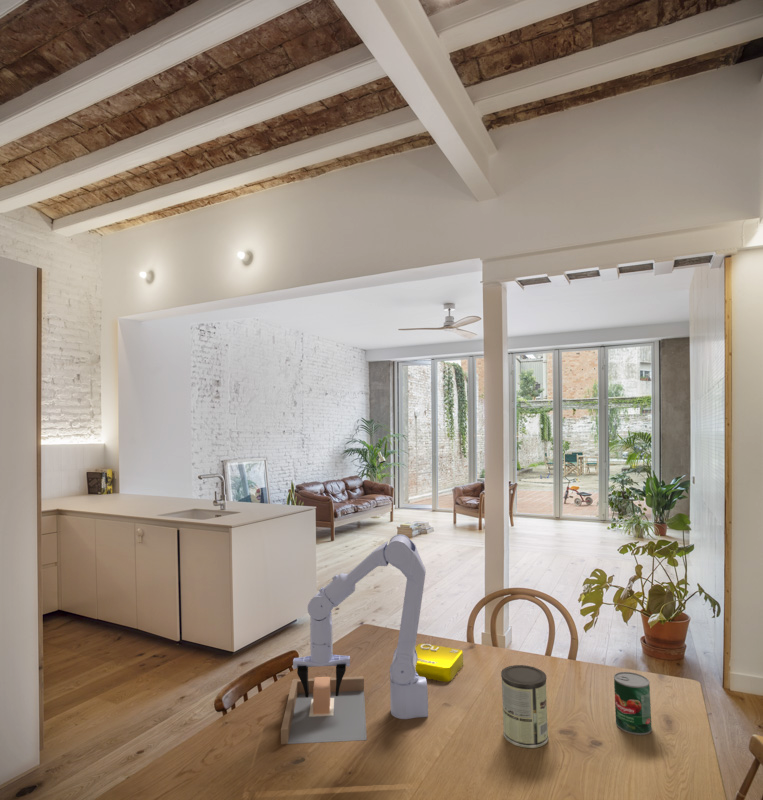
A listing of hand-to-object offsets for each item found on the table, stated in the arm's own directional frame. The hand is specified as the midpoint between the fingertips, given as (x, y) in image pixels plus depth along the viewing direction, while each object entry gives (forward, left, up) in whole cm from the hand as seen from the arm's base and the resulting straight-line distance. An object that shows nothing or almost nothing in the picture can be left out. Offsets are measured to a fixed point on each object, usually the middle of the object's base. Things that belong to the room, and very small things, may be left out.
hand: (322, 694), depth 141 cm
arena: (-1, +3, -4) cm, 5 cm away
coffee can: (-48, +16, -4) cm, 51 cm away
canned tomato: (-75, +14, -4) cm, 76 cm away
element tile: (-32, -22, -5) cm, 40 cm away
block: (0, 0, -3) cm, 3 cm away
